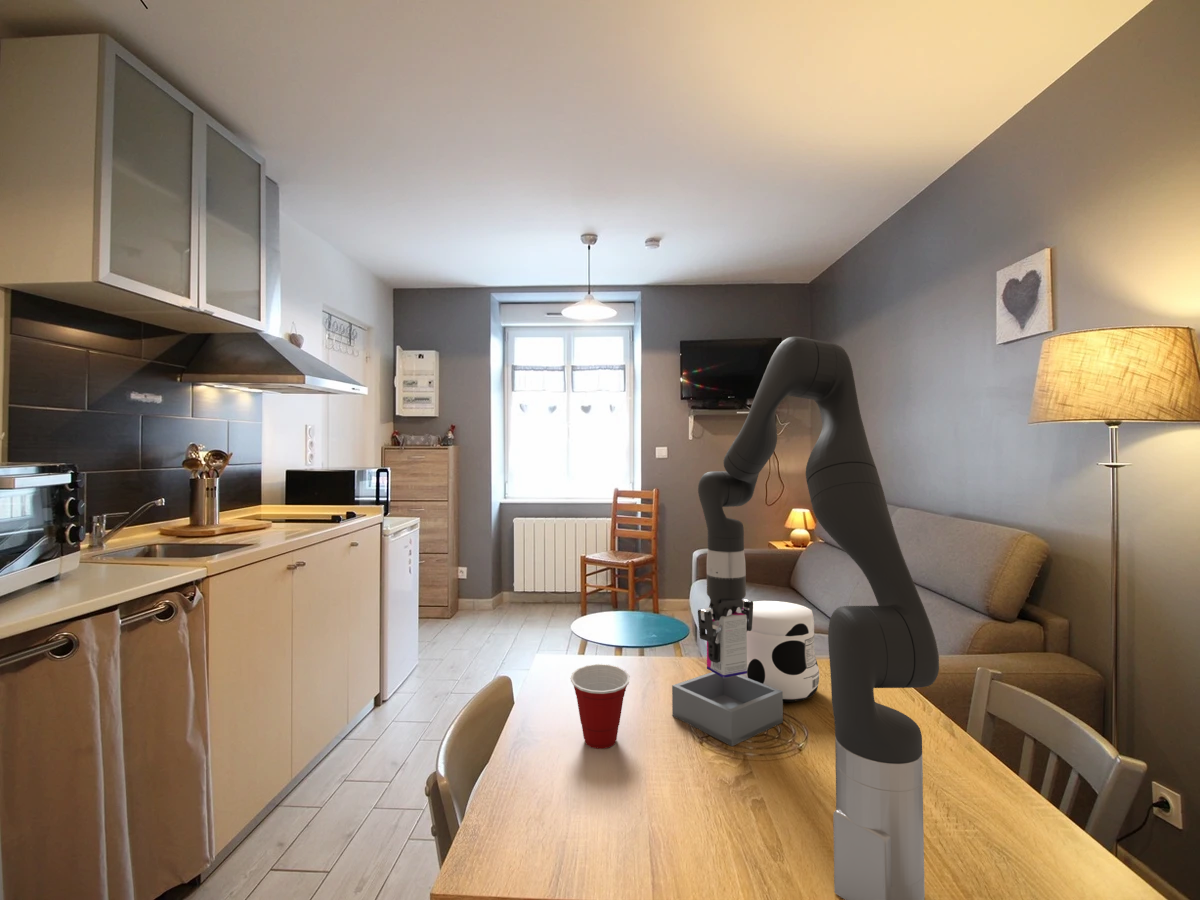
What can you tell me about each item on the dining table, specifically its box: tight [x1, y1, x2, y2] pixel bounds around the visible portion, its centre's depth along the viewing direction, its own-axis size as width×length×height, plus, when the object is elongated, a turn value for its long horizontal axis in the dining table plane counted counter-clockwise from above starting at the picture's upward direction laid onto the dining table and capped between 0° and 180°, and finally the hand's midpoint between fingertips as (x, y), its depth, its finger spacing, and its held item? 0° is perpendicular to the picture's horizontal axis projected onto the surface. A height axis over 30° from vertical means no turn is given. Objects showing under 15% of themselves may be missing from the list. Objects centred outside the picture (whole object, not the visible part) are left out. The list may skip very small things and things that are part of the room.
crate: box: [671, 671, 784, 747], centre depth 110 cm, size 15×15×6 cm
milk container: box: [741, 600, 820, 703], centre depth 123 cm, size 17×17×18 cm
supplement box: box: [706, 613, 747, 678], centre depth 110 cm, size 6×6×12 cm
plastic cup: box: [569, 663, 631, 750], centre depth 101 cm, size 11×11×12 cm
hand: (726, 657), depth 110 cm, fingers closed on supplement box, 6 cm apart
